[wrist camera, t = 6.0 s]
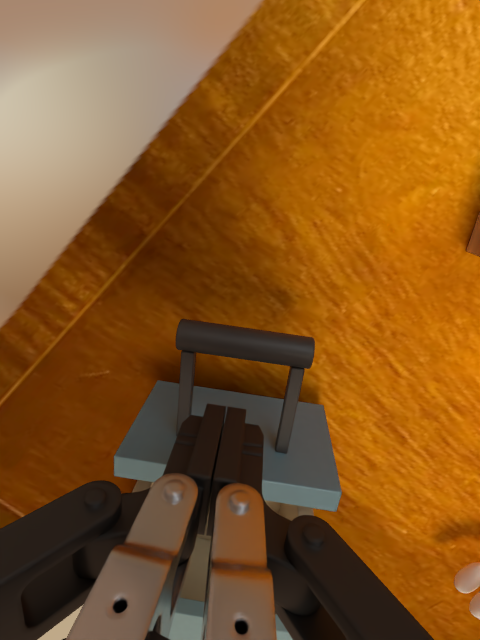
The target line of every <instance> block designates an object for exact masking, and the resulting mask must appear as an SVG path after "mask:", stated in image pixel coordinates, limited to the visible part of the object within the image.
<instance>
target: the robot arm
mask: <svg viewBox="0 0 480 640" xmlns="http://www.w3.org/2000/svg"><path fill="white" fill-rule="evenodd" d="M225 412H226V406H222V405H215V404H209V403H207V405H206V408H205V412H204V415H203V417H202V416H196V415H190V416H189V417H188V418H187V419H186V420H184V421H183V422H182V424H181V427H180V430H179V432H178V435H177V438H176V441H175V443H174V446H173V449H172V451H171V454H170V457H169V460H168V462H167V465H166V468H165V470H164V473H163V475H162V476H161V477H160V478H158V479H157V480H156V481H155V482H154V483H153V485H152V487H150V488H148V489H146V490H143V491H139V492H132V493H124V494H121V491H120V489H119V488H118V487H117V486H116V485H115V484H113V483H111V482H108V481H93V482H89V483H87V484H84V485H82V486H81V487H79V488H77V489H75V490H73V491H71V492H69V493H67V494H65V495H64V496H62V497H60V498H58V499H56V500H54V501H52V502H50V503H48V504H47V505H45V506H43V507H41V508H39V509H37V510H35V511H33V512H31V513H30V514H28V515H26V516H24V517H22V518H20V519H18V520H16V521H15V522H13V523H11V524H9V525H7V526H5V527H3V528H1V529H0V640H37V639H38V638H40V637H41V636H42V635H44V634H45V633H46V632H48V631H49V630H50V629H52V628H53V627H54V626H55V625H57V624H58V623H59V622H61V621H62V620H63V619H65V618H66V617H67V616H69V615H70V614H71V613H72V612H74V611H75V610H76V609H78V608H79V607H80V606H82V605H83V604H84V605H83V607H82V609H81V611H80V613H79V615H78V617H77V619H76V620H75V623H74V624H73V626H72V628H71V630H70V632H69V634H68V636H67V638H65V639H63V640H170V639H168V638H169V633H170V629H171V625H172V621H173V618H174V615H175V611H176V608H177V604H178V601H179V598H180V594H181V591H182V588H183V584H184V581H185V577H186V574H187V571H188V567H189V564H190V560H191V554H192V552H193V550H194V546H195V542H196V537H197V534H200V535H204V533H205V528H206V523H207V517H208V512H209V517H208V525H207V533H206V535H207V536H211V543H210V551H209V558H208V567H207V578H206V589H205V599H204V610H203V621H202V632H201V640H277V634H276V620H275V612H276V614H277V615H278V617H279V619H280V620H281V622H282V623H283V625H284V626H285V628H286V630H287V631H288V633H289V634H290V636H291V637H292V639H293V640H434V639H433V638H432V637H431V636H430V635H429V633H428V632H427V631H426V630H425V629H424V628H423V627H422V626H421V625H420V624H419V622H418V621H417V620H416V619H415V618H414V617H413V616H412V615H411V614H410V613H409V611H408V610H407V609H406V608H405V607H404V606H403V605H402V604H401V603H400V602H399V601H398V599H397V598H396V597H395V596H394V595H393V594H392V593H391V592H390V591H389V590H388V588H387V587H386V586H385V585H384V584H383V583H382V582H381V581H380V580H379V579H378V577H377V576H376V575H375V574H374V573H373V572H372V571H371V570H370V569H369V568H368V566H367V565H366V564H365V563H364V562H363V561H362V560H361V559H360V558H359V557H358V556H357V554H356V553H355V552H354V551H353V550H352V549H351V548H350V547H349V546H348V545H347V543H346V542H345V541H344V540H343V539H342V538H341V537H340V536H339V535H338V534H337V532H336V531H335V530H334V529H333V528H332V527H331V526H330V525H329V524H328V523H327V522H325V521H324V520H322V519H321V518H318V517H316V516H312V515H301V516H298V517H296V518H294V519H293V520H292V521H291V520H289V519H287V518H285V517H283V516H281V515H279V514H277V513H276V512H274V511H273V510H272V509H271V508H270V507H269V506H268V505H267V504H266V502H265V500H264V498H263V495H262V473H263V446H264V435H263V433H262V431H261V429H260V427H259V425H254V424H248V423H245V419H246V409H241V408H235V407H229V406H228V407H227V412H226V417H225ZM224 420H225V422H224ZM209 507H210V509H209Z"/></svg>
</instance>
